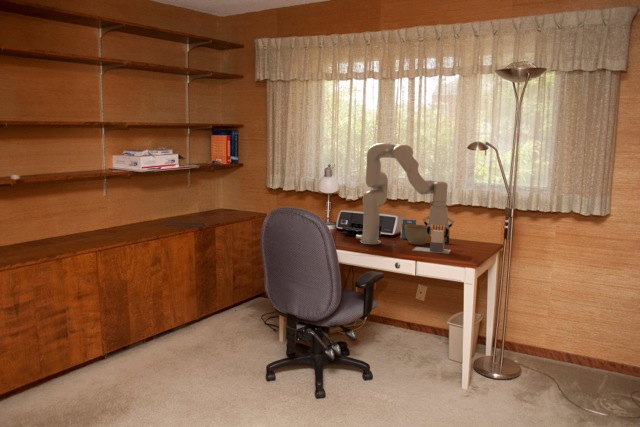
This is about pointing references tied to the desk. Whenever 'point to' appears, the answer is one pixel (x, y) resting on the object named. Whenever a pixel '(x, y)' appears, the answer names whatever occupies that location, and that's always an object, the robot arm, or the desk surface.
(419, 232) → the planter bowl
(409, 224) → the label tape box
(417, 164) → the robot arm
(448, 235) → the ammunition clip
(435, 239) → the cream block
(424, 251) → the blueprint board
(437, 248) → the charcoal base block
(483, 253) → the desk surface
